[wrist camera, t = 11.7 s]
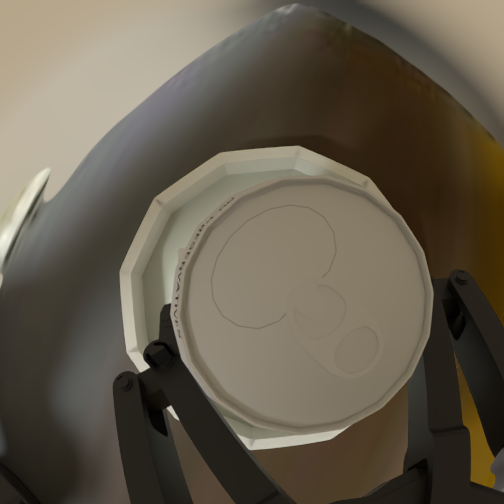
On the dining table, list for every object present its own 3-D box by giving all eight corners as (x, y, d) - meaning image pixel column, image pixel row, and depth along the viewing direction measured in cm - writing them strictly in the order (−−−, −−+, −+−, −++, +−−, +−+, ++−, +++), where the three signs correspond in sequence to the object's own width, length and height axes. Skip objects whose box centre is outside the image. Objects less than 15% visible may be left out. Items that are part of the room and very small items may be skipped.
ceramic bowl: (104, 357, 24) (85, 364, 20) (209, 132, 27) (204, 112, 23) (334, 457, 22) (343, 474, 18) (430, 231, 25) (450, 223, 21)
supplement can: (200, 299, 22) (98, 300, 7) (277, 225, 23) (311, 107, 8) (273, 374, 21) (301, 494, 6) (349, 299, 22) (485, 297, 7)
